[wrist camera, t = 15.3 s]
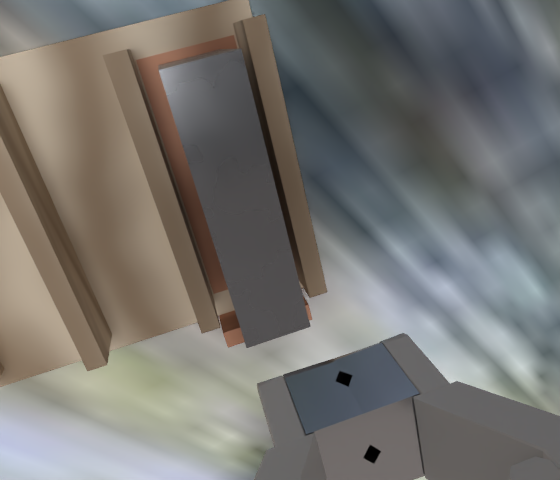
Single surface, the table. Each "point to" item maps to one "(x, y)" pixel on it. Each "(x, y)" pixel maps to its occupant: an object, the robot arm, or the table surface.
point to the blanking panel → (236, 190)
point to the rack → (123, 192)
